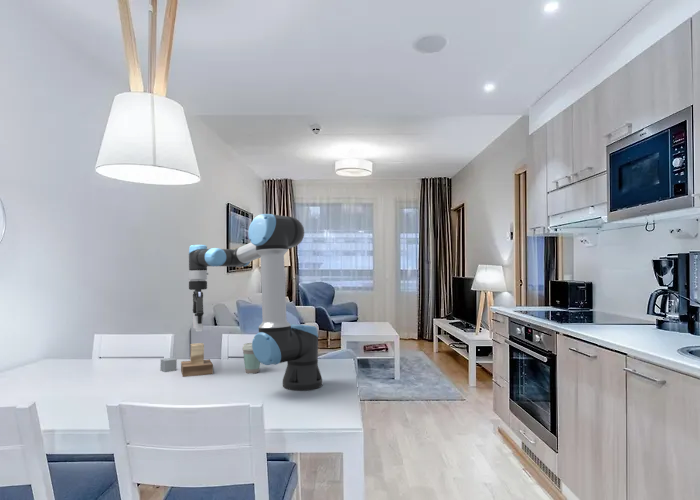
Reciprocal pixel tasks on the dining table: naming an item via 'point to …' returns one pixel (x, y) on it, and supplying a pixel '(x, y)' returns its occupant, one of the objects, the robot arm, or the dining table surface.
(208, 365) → the walnut base slab
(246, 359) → the coffee cup
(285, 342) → the robot arm
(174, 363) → the slate grey block
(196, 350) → the oak column block
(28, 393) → the dining table surface
